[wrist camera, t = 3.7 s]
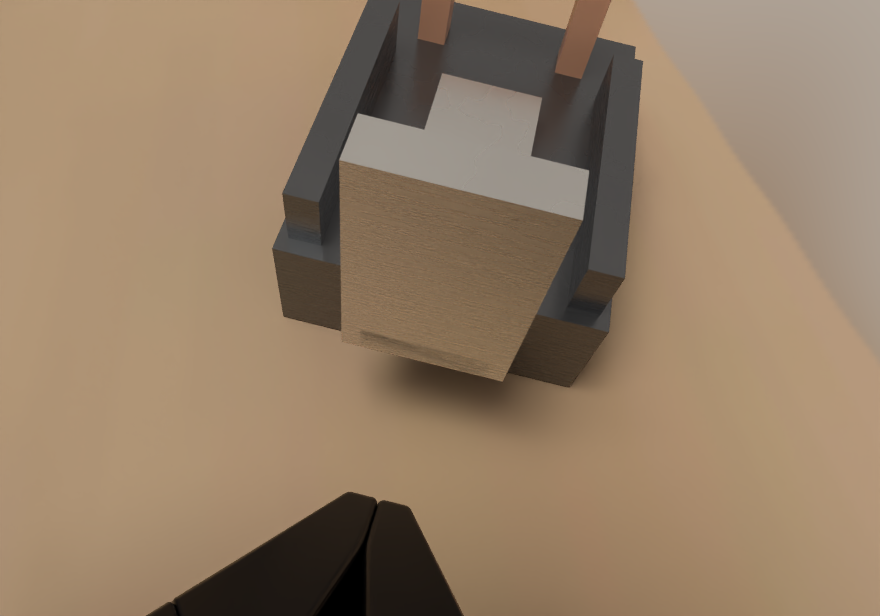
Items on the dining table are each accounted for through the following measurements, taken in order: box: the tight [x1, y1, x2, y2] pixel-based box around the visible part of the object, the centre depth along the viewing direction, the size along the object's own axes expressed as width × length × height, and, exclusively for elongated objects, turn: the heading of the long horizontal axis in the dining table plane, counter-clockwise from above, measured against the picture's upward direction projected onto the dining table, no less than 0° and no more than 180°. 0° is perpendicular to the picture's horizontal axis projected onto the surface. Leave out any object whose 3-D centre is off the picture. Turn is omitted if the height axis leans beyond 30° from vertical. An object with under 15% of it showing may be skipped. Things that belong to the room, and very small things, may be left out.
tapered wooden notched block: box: [339, 73, 589, 382], centre depth 17 cm, size 10×4×7 cm, turn 167°
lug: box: [418, 0, 611, 79], centre depth 23 cm, size 1×6×4 cm, turn 78°
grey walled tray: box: [272, 0, 643, 387], centre depth 23 cm, size 13×10×6 cm
